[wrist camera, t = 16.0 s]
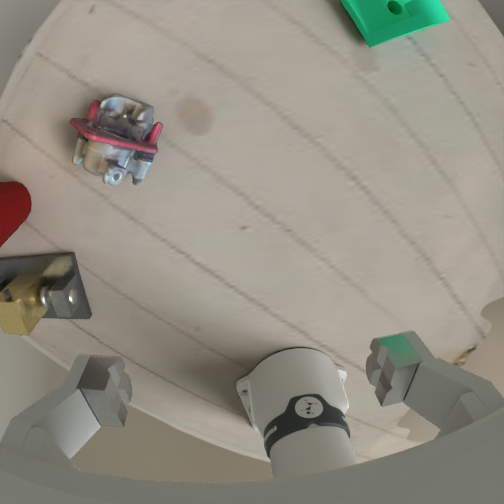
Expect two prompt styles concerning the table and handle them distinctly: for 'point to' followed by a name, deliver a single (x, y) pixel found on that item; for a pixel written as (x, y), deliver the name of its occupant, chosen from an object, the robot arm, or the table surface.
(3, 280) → the shaft stand
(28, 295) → the block
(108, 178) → the brake caliper
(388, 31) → the camera mount
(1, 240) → the plastic cup
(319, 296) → the table surface
